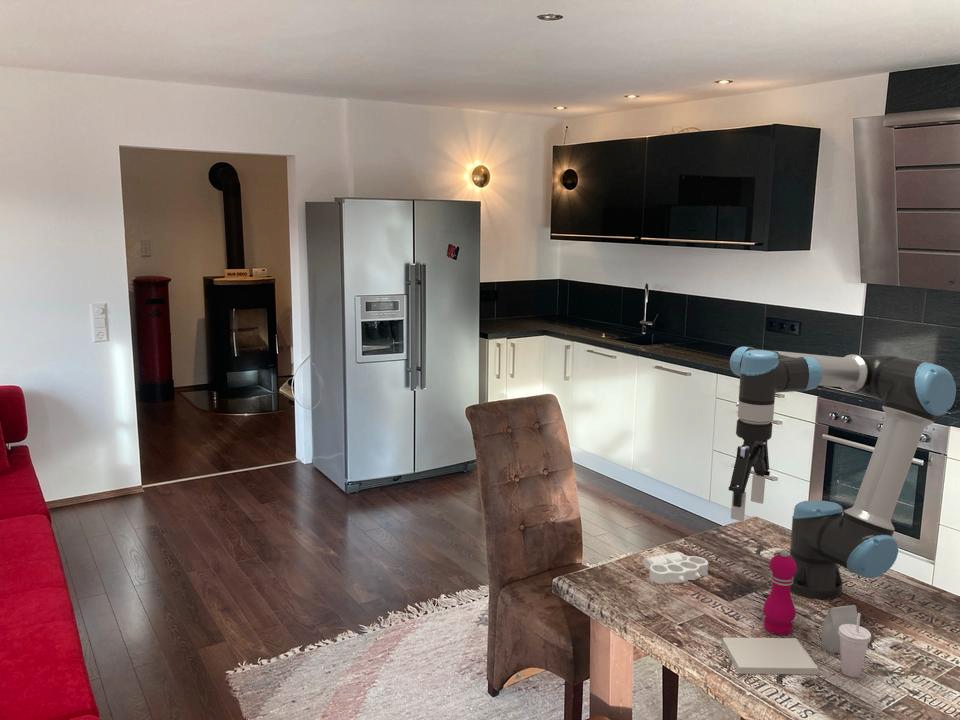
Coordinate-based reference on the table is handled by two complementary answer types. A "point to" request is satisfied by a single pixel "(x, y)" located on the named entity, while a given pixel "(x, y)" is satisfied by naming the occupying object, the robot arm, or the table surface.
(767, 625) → the pepper mill
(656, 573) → the knuckle duster
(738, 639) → the cutting board
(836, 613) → the tea bag
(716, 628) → the table surface
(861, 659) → the smoothie
